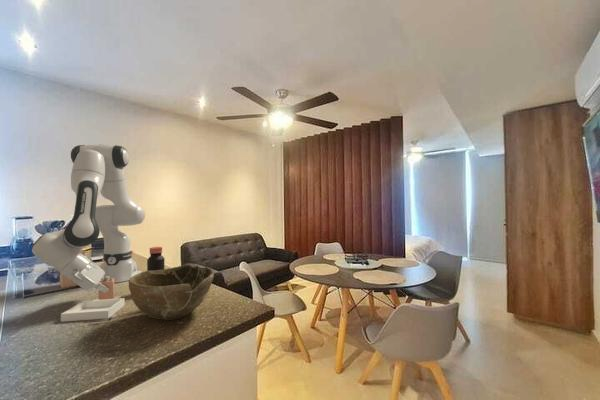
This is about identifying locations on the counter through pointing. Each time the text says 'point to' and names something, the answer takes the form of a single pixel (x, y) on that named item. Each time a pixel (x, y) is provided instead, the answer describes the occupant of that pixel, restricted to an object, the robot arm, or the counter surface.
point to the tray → (93, 310)
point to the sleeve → (110, 292)
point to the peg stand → (107, 281)
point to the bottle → (155, 259)
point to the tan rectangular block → (64, 280)
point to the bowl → (170, 290)
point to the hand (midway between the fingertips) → (108, 288)
